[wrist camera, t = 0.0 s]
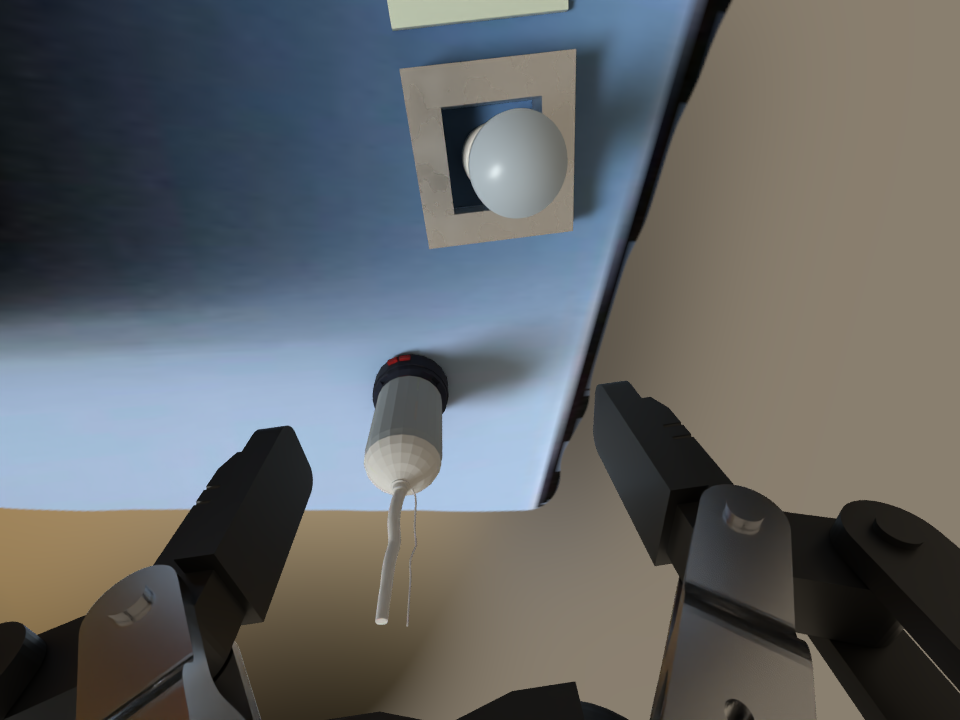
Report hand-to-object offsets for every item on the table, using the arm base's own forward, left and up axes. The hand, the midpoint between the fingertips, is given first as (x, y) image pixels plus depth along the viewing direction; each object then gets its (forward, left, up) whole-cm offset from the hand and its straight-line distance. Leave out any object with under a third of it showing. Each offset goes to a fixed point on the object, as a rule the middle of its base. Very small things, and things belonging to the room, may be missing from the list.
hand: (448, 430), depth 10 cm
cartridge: (-5, +5, -29) cm, 30 cm away
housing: (-5, +5, -29) cm, 30 cm away
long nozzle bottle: (+17, -6, -30) cm, 35 cm away
